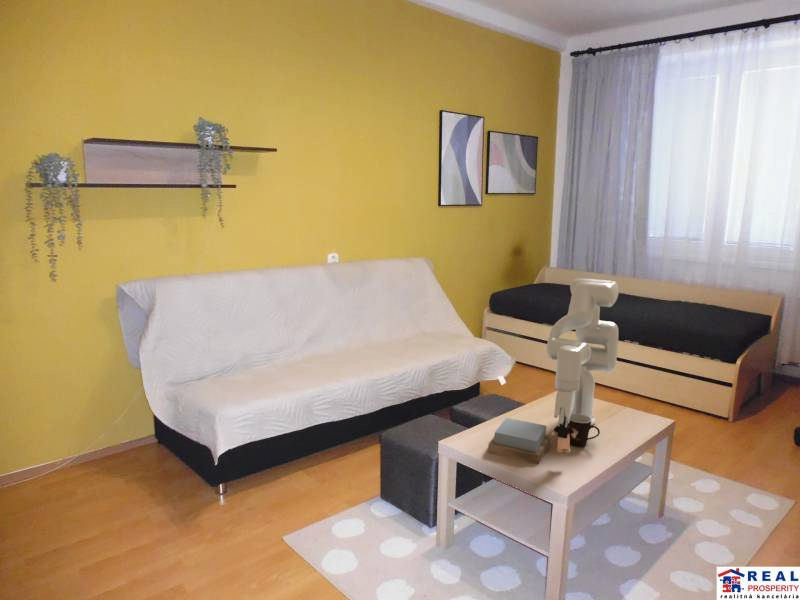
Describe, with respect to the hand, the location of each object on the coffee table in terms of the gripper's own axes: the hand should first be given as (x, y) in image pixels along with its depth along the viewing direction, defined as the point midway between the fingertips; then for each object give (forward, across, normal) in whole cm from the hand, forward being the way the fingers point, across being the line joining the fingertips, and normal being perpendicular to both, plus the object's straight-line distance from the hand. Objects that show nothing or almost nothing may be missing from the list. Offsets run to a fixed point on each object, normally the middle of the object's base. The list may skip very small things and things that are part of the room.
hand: (563, 434), depth 185 cm
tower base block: (+12, -7, -16) cm, 21 cm away
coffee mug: (+12, -20, +3) cm, 24 cm away
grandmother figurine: (+6, 0, 0) cm, 6 cm away
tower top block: (+8, -7, -16) cm, 19 cm away
